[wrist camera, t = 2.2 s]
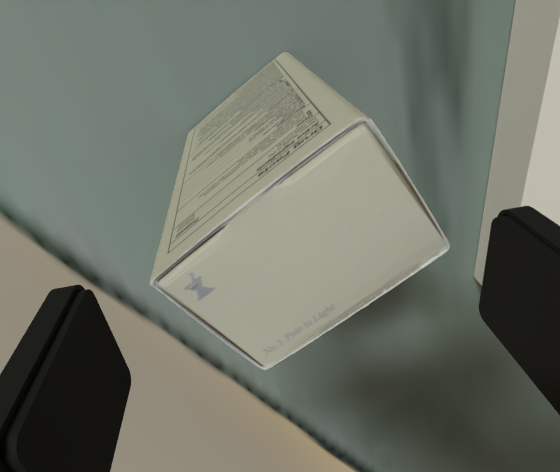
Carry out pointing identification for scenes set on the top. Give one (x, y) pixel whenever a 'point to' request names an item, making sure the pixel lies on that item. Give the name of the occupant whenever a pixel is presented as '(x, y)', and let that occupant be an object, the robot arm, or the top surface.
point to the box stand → (527, 122)
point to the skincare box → (288, 216)
